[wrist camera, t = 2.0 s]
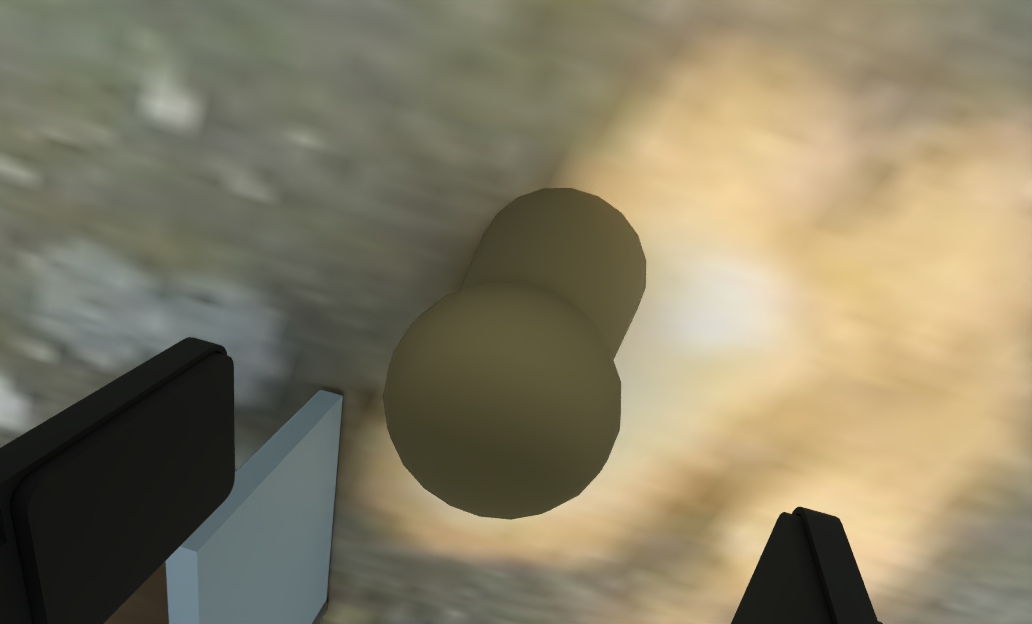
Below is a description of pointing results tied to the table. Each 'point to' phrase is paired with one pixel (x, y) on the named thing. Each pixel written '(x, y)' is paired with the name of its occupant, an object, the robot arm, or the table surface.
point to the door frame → (145, 602)
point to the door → (266, 532)
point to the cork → (521, 360)
